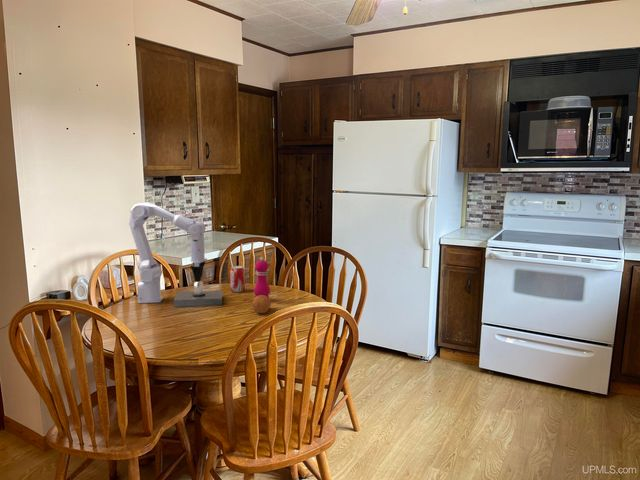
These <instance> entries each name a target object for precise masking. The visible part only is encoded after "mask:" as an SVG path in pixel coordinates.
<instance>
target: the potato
mask: <svg viewBox="0 0 640 480" xmlns="http://www.w3.org/2000/svg"><path fill="white" fill-rule="evenodd" d="M255 297H256V296H255ZM255 297H254V299H253V301H252V308H253V310H254V312H255V313H257V314H266V313H268V311H269V308H270V307H272V305H271V304H272V302H271V299H270V297H269V298H268V297H267V296H265V295H258V296H257V297H256V298H255Z"/></svg>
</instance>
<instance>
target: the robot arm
mask: <svg viewBox="0 0 640 480" xmlns="http://www.w3.org/2000/svg"><path fill="white" fill-rule="evenodd" d="M129 213H130V215H129V216H130V217H129V223H128V225H129V229H130V231H131V234H132V238H133V240H134V244H135V248H136V250H137V253H138V256H139V261H140V266H139V269H140V275H139V276H140V279H141V281H138V284H137V300H138V301H137V302H138V304H151V303H161V302H162V300H163V298H164V297H163V296H161V295H162V294H161V292H162V291H161V278H160V277H161V276H162V274H163V270H162V268H161V267H160V266H159V264H158V261H157V260H156V259H155V258H154V256H153V253H152V250H151V247H150V244H149V239H148V237H147V234H146V231H145V228H144V224H145V222H146V221H147V220H148V219H150V218H151V217H154V216H156V217H158V218H161V219H164V220H167V221H168V222H172V223H173V225H174V227H176V228H178V229H180V230H182V231H185V232H186V233H189V235H190V262H192V265H190V266H189V267H190V270H191V272H192V274H193V278H194V282H200V281H201V279H202V278H203V272H204V271H203V270H204V267H205V264H206V262H207V261H208V258H205V232H206V225H205V224H204V223H203V222H201V221H197V220H196V219H194V218H193V219H192V218H189V217H187V216H186V214H178V215H176V214H174V213H172V212H170V211H168V210H166V209H164V208H162V207H160V206H158V205H156V204H153V203H151V202H147V201H146V202H143V203H135V204H134V205H133V206H132V207H131V209H130V211H129Z"/></svg>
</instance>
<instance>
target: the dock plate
mask: <svg viewBox="0 0 640 480" xmlns="http://www.w3.org/2000/svg"><path fill="white" fill-rule="evenodd" d="M223 298H224V297H223V290H203V297H194V291H178V292H177V294H176V295H175V297H174V299H173V305H174V306H173V307H174V308H184V307H205V306H206V307H209V306H210V307H211V306H213V307H214V306H222V304H223Z"/></svg>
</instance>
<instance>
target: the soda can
mask: <svg viewBox="0 0 640 480" xmlns="http://www.w3.org/2000/svg"><path fill="white" fill-rule="evenodd" d="M229 272H230V274H229V277H230V279H229V284H230V290H231V291H232V292H233V293H242V292H244V291H245V289H246V272H245V269H244V266H243V265H234V266H233V265H232V266H231V268H230V271H229Z"/></svg>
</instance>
